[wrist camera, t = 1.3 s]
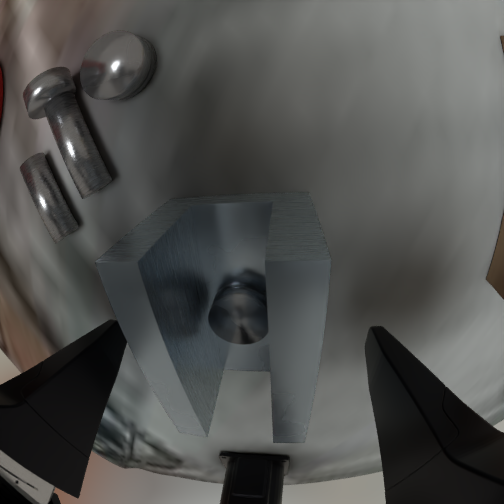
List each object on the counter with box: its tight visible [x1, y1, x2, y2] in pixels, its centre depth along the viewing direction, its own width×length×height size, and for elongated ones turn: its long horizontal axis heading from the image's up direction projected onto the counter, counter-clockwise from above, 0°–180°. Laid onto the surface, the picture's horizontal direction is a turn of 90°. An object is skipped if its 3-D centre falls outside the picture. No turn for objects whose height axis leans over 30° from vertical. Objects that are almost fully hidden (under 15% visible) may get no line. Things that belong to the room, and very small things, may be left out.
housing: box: [95, 192, 331, 443], centre depth 9 cm, size 8×5×5 cm, turn 4°
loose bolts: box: [20, 30, 156, 244], centre depth 8 cm, size 6×8×2 cm
